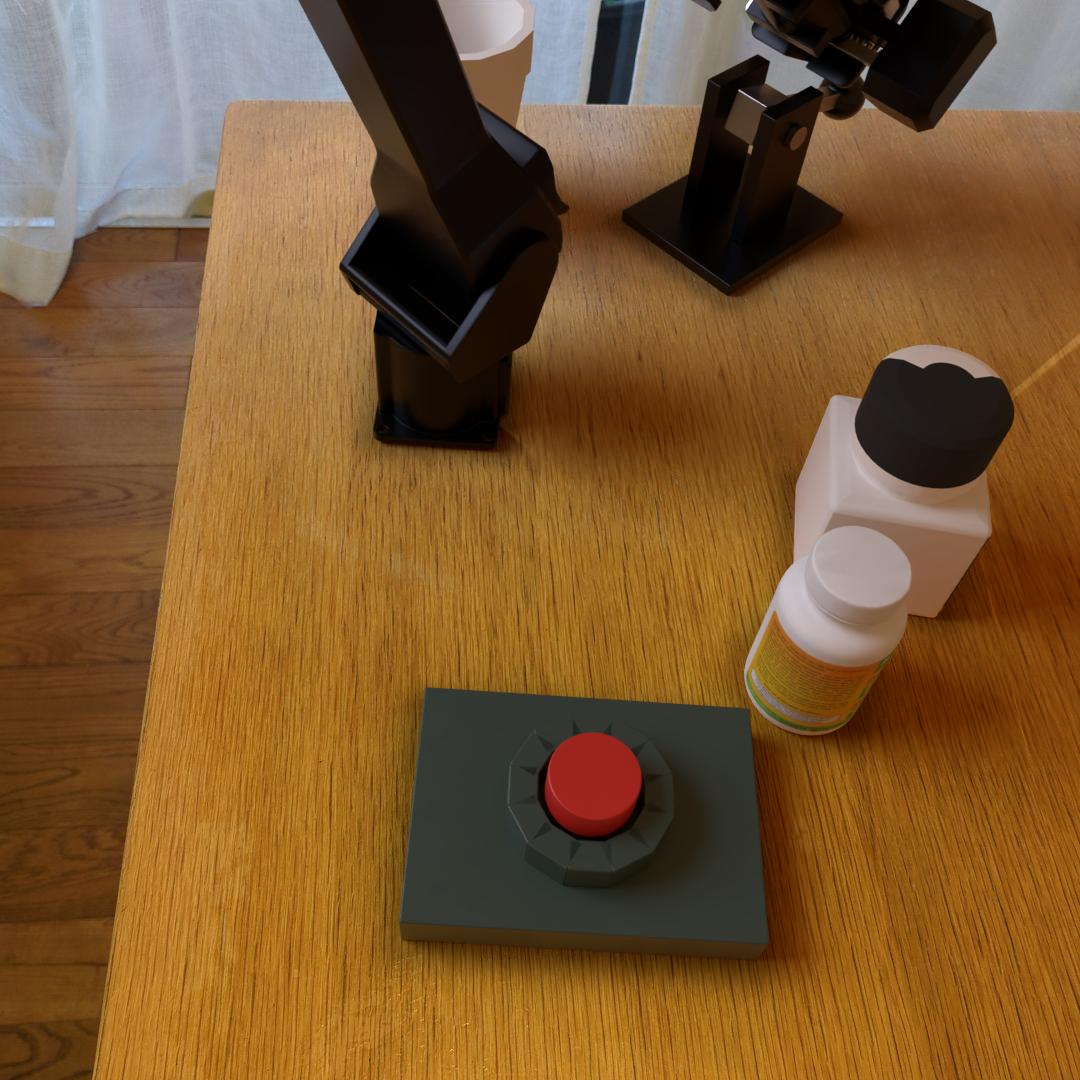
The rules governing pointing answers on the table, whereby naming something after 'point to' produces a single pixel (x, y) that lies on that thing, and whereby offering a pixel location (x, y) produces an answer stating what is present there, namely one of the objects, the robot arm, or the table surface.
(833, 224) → the bracket
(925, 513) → the medicine bottle
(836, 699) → the supplement bottle
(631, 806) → the button
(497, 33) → the white flower pot
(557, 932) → the button block
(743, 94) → the lever
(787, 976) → the table surface
